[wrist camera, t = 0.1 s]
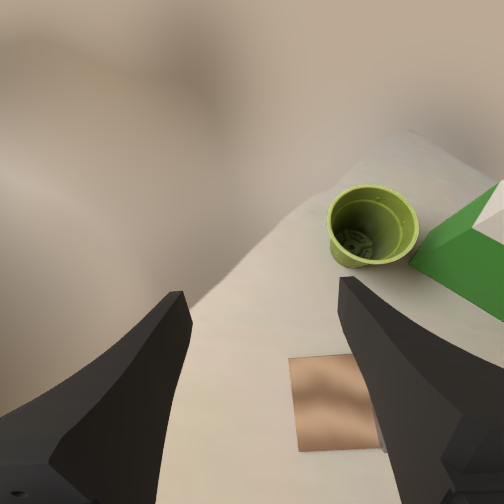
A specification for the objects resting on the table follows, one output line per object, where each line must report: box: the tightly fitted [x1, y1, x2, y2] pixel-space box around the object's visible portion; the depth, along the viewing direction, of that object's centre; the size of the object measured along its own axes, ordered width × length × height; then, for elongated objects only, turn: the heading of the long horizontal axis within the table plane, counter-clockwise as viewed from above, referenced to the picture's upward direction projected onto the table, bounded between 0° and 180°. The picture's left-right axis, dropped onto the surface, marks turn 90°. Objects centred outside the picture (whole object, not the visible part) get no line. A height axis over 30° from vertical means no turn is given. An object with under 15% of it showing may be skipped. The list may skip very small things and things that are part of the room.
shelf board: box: [288, 354, 388, 453], centre depth 37 cm, size 12×12×2 cm
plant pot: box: [327, 184, 419, 268], centre depth 40 cm, size 12×12×11 cm
